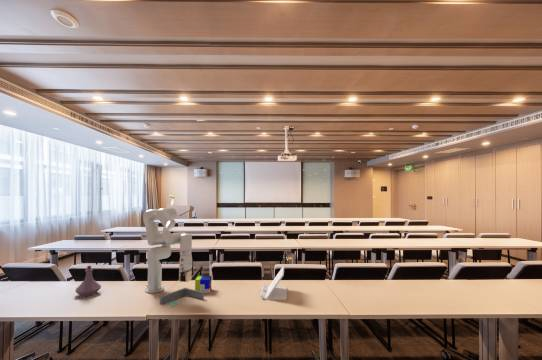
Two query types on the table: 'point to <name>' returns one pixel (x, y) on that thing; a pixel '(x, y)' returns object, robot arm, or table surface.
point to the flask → (88, 284)
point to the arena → (178, 294)
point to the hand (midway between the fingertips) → (185, 279)
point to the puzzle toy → (203, 284)
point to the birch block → (187, 275)
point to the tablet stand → (275, 289)
